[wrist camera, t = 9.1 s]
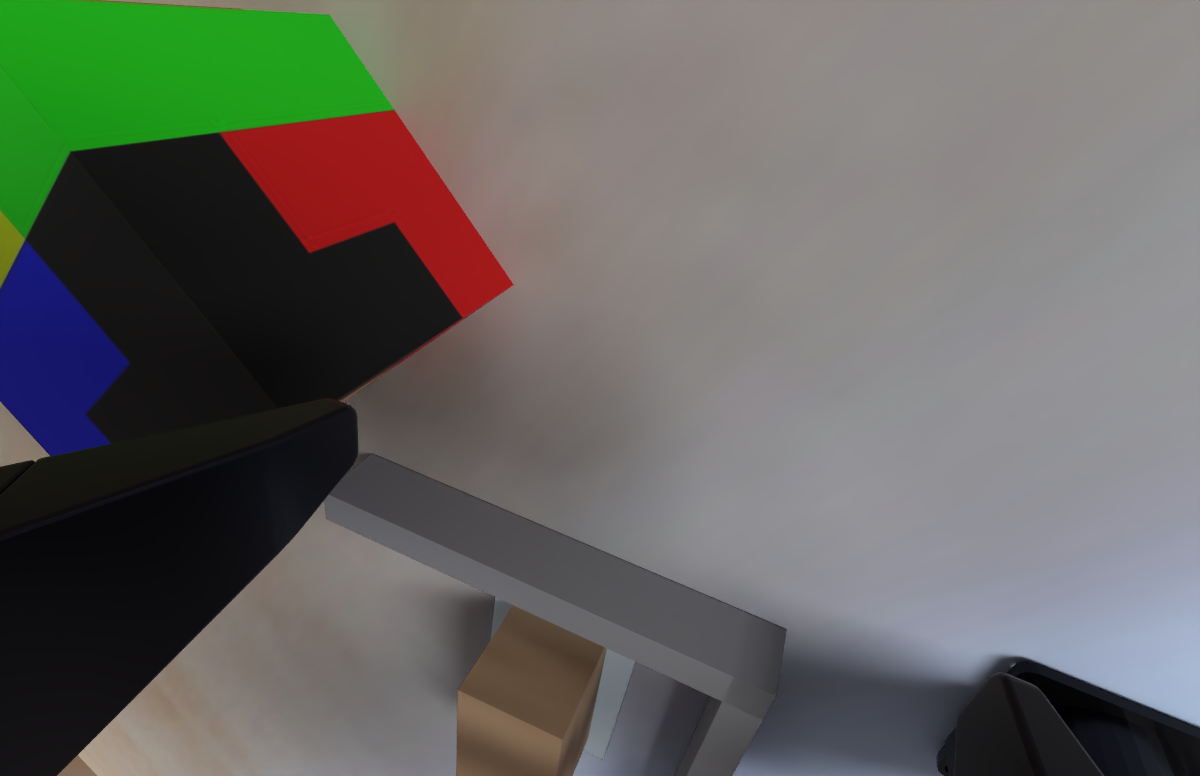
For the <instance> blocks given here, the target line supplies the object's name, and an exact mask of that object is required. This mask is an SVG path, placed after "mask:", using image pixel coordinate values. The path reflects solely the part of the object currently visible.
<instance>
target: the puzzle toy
mask: <svg viewBox="0 0 1200 776" xmlns="http://www.w3.org/2000/svg"><path fill="white" fill-rule="evenodd" d="M511 286H513V283H512V282H511V280H510V279H509V277H508V276H507V274H506V273H505V271H504V270H503V269H502V267H501V266H500V264H499V263H498V261H497V260H496V258H495V257H494V255H493V254H492V252H491V251H490V249H489V248H488V247H487V245H486V244H485V242H484V241H483V239H482V238H481V236H480V235H479V233H478V232H477V230H476V229H475V228H474V226H473V225H472V223H471V222H470V220H469V219H468V217H467V216H466V214H465V213H464V211H463V210H462V208H461V207H460V206H459V204H458V203H457V201H456V200H455V198H454V197H453V195H452V194H451V192H450V191H449V189H448V188H447V186H446V185H445V184H444V182H443V181H442V179H441V178H440V176H439V175H438V173H437V172H436V170H435V169H434V167H433V166H432V165H431V163H430V162H429V160H428V159H427V157H426V156H425V154H424V153H423V151H422V150H421V148H420V147H419V145H418V144H417V143H416V141H415V140H414V138H413V137H412V135H411V134H410V132H409V131H408V129H407V128H406V126H405V125H404V123H403V122H402V121H401V119H400V118H399V116H398V115H397V113H396V112H395V110H394V109H393V107H392V106H391V104H390V103H389V101H388V100H387V99H386V97H385V96H384V94H383V93H382V91H381V90H380V88H379V87H378V85H377V84H376V82H375V81H374V80H373V78H372V77H371V75H370V74H369V72H368V71H367V69H366V68H365V66H364V65H363V63H362V62H361V60H360V59H359V58H358V56H357V55H356V53H355V52H354V50H353V49H352V47H351V46H350V44H349V43H348V41H347V40H346V38H345V37H344V36H343V34H342V33H341V31H340V30H339V28H338V27H337V25H336V24H335V22H334V21H333V19H332V18H331V17H330V15H329V14H314V13H298V12H282V11H265V10H249V9H233V8H217V7H200V6H184V5H168V4H151V3H135V2H119V1H103V0H0V401H1V403H2V404H3V405H4V406H5V407H6V408H7V409H8V410H9V411H10V412H11V413H12V415H13V416H14V417H15V418H16V419H17V420H18V421H19V422H20V423H21V424H22V425H23V427H24V428H25V429H26V430H27V431H28V432H29V433H30V434H31V435H32V436H33V438H34V439H35V440H36V441H37V442H38V443H39V444H40V445H41V446H42V447H43V448H44V450H45V451H46V452H47V453H48V454H49V455H50V456H54V455H59V454H64V453H69V452H73V451H78V450H83V449H88V448H92V447H97V446H102V445H107V444H111V443H116V442H121V441H126V440H130V439H135V438H140V437H145V436H149V435H154V434H159V433H164V432H168V431H173V430H178V429H183V428H187V427H192V426H197V425H202V424H206V423H211V422H216V421H221V420H225V419H230V418H235V417H240V416H244V415H249V414H254V413H259V412H263V411H268V410H273V409H278V408H282V407H287V406H292V405H297V404H301V403H306V402H311V401H316V400H321V399H326V398H331V399H335V400H338V401H340V402H344V401H345V400H347V399H348V398H350V397H351V396H353V395H354V394H356V393H357V392H358V391H360V390H361V389H363V388H364V387H366V386H367V385H369V384H370V383H372V382H373V381H374V380H376V379H377V378H379V377H380V376H382V375H383V374H385V373H386V372H388V371H389V370H390V369H392V368H393V367H395V366H396V365H398V364H399V363H401V362H402V361H404V360H405V359H406V358H408V357H409V356H411V355H412V354H414V353H415V352H417V351H418V350H420V349H421V348H422V347H424V346H425V345H427V344H428V343H430V342H431V341H433V340H434V339H436V338H437V337H438V336H440V335H441V334H443V333H444V332H446V331H447V330H449V329H450V328H452V327H453V326H454V325H456V324H457V323H459V322H460V321H462V320H463V319H465V318H466V317H468V316H469V315H470V314H472V313H473V312H475V311H476V310H478V309H479V308H481V307H482V306H483V305H485V304H486V303H488V302H489V301H491V300H492V299H494V298H495V297H497V296H498V295H499V294H501V293H502V292H504V291H505V290H507V289H508V288H510V287H511Z"/></svg>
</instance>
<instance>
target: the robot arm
mask: <svg viewBox="0 0 1200 776" xmlns="http://www.w3.org/2000/svg"><path fill="white" fill-rule="evenodd" d="M357 454H358V427H357V413H356V411H355V409H354V408H353V407H352V406H350V405H348V404H345V403H343V402H340V401H338V400H335V399H331V398H326V399H321V400H316V401H311V402H306V403H301V404H297V405H292V406H287V407H282V408H278V409H273V410H268V411H263V412H259V413H254V414H249V415H244V416H240V417H235V418H230V419H225V420H221V421H216V422H211V423H206V424H202V425H197V426H192V427H187V428H183V429H178V430H173V431H168V432H164V433H159V434H154V435H149V436H145V437H140V438H135V439H130V440H126V441H121V442H116V443H111V444H107V445H102V446H97V447H92V448H88V449H83V450H78V451H73V452H69V453H64V454H59V455H54V456H49V457H45V458H40V459H38V460H37V461H36V462H35V461H32V460H30V461H25V462H20V463H16V464H11V465H6V466H2V467H0V776H57V775H58V774H59V773H60V772H61V771H62V770H63V769H64V768H65V767H66V766H67V765H68V764H69V763H70V762H71V761H72V760H73V759H74V758H75V757H76V756H77V755H78V754H79V753H80V752H81V751H82V750H83V749H84V748H85V747H86V746H87V745H88V744H89V743H90V742H91V741H92V740H93V739H94V738H95V737H96V736H97V735H98V734H99V733H100V732H101V731H102V730H103V729H104V728H105V727H106V726H107V725H108V724H109V723H110V722H111V721H112V720H113V719H114V718H115V717H116V716H117V715H118V714H119V713H120V712H121V711H122V710H123V709H124V708H125V707H126V706H127V705H128V704H129V703H130V702H131V701H132V700H133V699H134V698H135V697H136V696H137V695H138V694H139V693H140V692H141V691H142V690H143V689H144V688H145V687H146V686H147V685H148V684H149V683H150V682H151V681H152V680H153V679H154V678H155V677H156V676H157V675H158V674H159V673H160V672H161V671H162V670H163V669H164V668H165V667H166V666H167V665H168V664H169V663H170V662H171V661H172V660H173V659H174V658H175V657H176V656H177V655H178V654H179V653H180V652H181V651H182V650H183V649H184V648H185V647H186V646H187V645H188V644H189V643H190V642H191V641H192V640H193V639H194V638H195V637H196V636H197V635H198V634H199V633H200V632H201V631H202V630H203V629H204V628H205V627H206V626H207V625H208V624H209V623H210V622H211V621H212V620H213V619H214V618H215V617H216V616H217V615H218V614H219V613H220V612H221V611H222V610H223V609H224V608H225V607H226V606H227V605H228V604H229V603H230V602H231V601H232V600H233V599H234V598H235V597H236V596H237V595H238V594H239V593H240V592H241V591H242V590H243V589H244V588H245V587H246V586H247V585H248V584H249V583H250V582H251V581H252V580H253V579H254V578H255V577H256V576H257V575H258V574H259V573H260V572H261V571H262V570H263V569H264V568H265V567H266V566H267V565H268V564H269V563H270V562H271V561H272V560H273V559H274V558H275V557H276V556H277V555H278V554H279V552H280V551H281V550H282V549H283V548H284V547H285V546H286V545H287V544H288V543H289V542H290V541H291V540H292V538H293V537H294V536H295V535H296V534H297V533H298V532H299V530H300V529H301V528H302V527H303V526H304V524H305V523H306V522H307V521H308V519H309V518H310V517H311V516H312V515H313V513H314V512H315V511H316V510H317V508H318V507H319V506H320V505H321V504H322V502H323V501H324V500H325V499H326V497H327V496H328V495H329V494H330V493H331V491H332V490H333V489H334V488H335V486H336V485H337V484H338V483H339V481H340V480H341V479H342V478H343V477H344V475H345V474H346V473H347V472H348V470H349V469H350V468H351V467H352V465H353V464H354V462H355V460H356V458H357ZM1027 678H1034V679H1027ZM936 758H937V768H938V771H939V772H940V773H941V774H942V775H944V776H1200V729H1198V728H1195V727H1193V726H1190V725H1188V724H1185V723H1183V722H1180V721H1178V720H1175V719H1173V718H1170V717H1168V716H1165V715H1163V714H1160V713H1158V712H1155V711H1153V710H1150V709H1148V708H1145V707H1143V706H1140V705H1138V704H1135V703H1133V702H1130V701H1128V700H1125V699H1123V698H1120V697H1118V696H1115V695H1113V694H1110V693H1108V692H1105V691H1103V690H1100V689H1098V688H1095V687H1093V686H1090V685H1088V684H1085V683H1083V682H1080V681H1078V680H1075V679H1073V678H1070V677H1068V676H1065V675H1063V674H1060V673H1058V672H1055V671H1053V670H1050V669H1048V668H1045V667H1043V666H1040V665H1038V664H1034V663H1030V662H1022V663H1018V664H1016V665H1015V666H1013V667H1012V668H1011V669H1010V671H1009V672H1008V673H1003V672H997V673H995V674H993V675H992V676H991V677H989V678H988V680H987V681H986V682H985V683H984V684H983V686H982V687H981V688H980V689H979V690H978V692H977V693H976V694H975V695H974V696H973V697H972V699H971V700H970V701H969V702H968V703H967V705H966V706H965V707H964V708H963V710H962V712H961V714H960V716H959V719H958V724H957V727H956V728H955V729H954V730H953V732H952V733H951V734H950V735H949V736H948V737H947V739H946V740H945V746H944V747H943V748H942V749H941V751H940V752H939V753H938V754H937V757H936Z"/></svg>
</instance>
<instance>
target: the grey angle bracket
mask: <svg viewBox="0 0 1200 776" xmlns="http://www.w3.org/2000/svg"><path fill="white" fill-rule="evenodd" d="M324 502H325V514H326V519H327V520H330V521H332V522H334V523H336V524H338V525H340V526H343V527H345V528H347V529H349V530H351V531H353V532H356V533H358V534H360V535H362V536H364V537H366V538H369V539H371V540H373V541H375V542H377V543H379V544H382V545H384V546H386V547H388V548H390V549H392V550H395V551H397V552H399V553H401V554H403V555H405V556H408V557H410V558H412V559H414V560H416V561H418V562H421V563H423V564H425V565H427V566H429V567H431V568H434V569H436V570H438V571H440V572H442V573H444V574H447V575H449V576H451V577H453V578H455V579H458V580H460V581H462V582H464V583H466V584H468V585H471V586H473V587H475V588H477V589H479V590H481V591H484V592H486V593H488V594H490V595H492V596H494V597H497V598H499V599H501V600H503V601H505V602H507V603H510V604H512V605H514V606H516V607H518V608H520V609H523V610H525V611H527V612H529V613H531V614H533V615H536V616H538V617H540V618H542V619H544V620H546V621H549V622H551V623H553V624H555V625H557V626H559V627H562V628H564V629H566V630H568V631H570V632H572V633H575V634H577V635H579V636H581V637H583V638H585V639H588V640H590V641H592V642H594V643H596V644H598V645H601V646H603V647H605V648H607V649H609V650H611V651H614V652H616V653H618V654H620V655H622V656H624V657H627V658H629V659H631V660H633V661H635V662H637V663H640V664H642V665H644V666H646V667H648V668H650V669H653V670H655V671H657V672H659V673H661V674H663V675H666V676H668V677H670V678H672V679H674V680H676V681H679V682H681V683H683V684H685V685H687V686H689V687H692V688H694V689H696V690H698V691H700V692H702V693H705V694H707V695H709V696H710V698H709V701H708V703H707V705H706V707H705V709H704V712H703V714H702V716H701V718H700V720H699V723H698V725H697V727H696V729H695V731H694V733H693V736H692V738H691V740H690V742H689V744H688V747H687V749H686V751H685V753H684V755H683V757H682V760H681V762H680V764H679V766H678V768H677V771H676V773H675V775H674V776H732V775H733V773H734V771H735V770H736V768H737V766H738V764H739V762H740V760H741V759H742V757H743V755H744V753H745V751H746V750H747V748H748V746H749V744H750V742H751V741H752V739H753V737H754V735H755V733H756V732H757V730H758V728H759V726H760V724H761V723H762V721H763V719H764V717H765V715H766V714H767V712H768V710H769V708H770V706H771V705H772V703H773V701H774V699H775V697H776V694H777V688H778V681H779V675H780V668H781V662H782V655H783V649H784V643H785V636H786V629H784V628H782V627H779V626H777V625H774V624H772V623H770V622H767V621H765V620H763V619H760V618H758V617H756V616H753V615H751V614H749V613H746V612H744V611H741V610H739V609H737V608H734V607H732V606H730V605H727V604H725V603H723V602H720V601H718V600H715V599H713V598H711V597H708V596H706V595H704V594H701V593H699V592H697V591H694V590H692V589H690V588H687V587H685V586H682V585H680V584H678V583H675V582H673V581H671V580H668V579H666V578H664V577H661V576H659V575H657V574H654V573H652V572H649V571H647V570H645V569H642V568H640V567H638V566H635V565H633V564H631V563H628V562H626V561H624V560H621V559H619V558H616V557H614V556H612V555H609V554H607V553H605V552H602V551H600V550H598V549H595V548H593V547H590V546H588V545H586V544H583V543H581V542H579V541H576V540H574V539H572V538H569V537H567V536H565V535H562V534H560V533H557V532H555V531H553V530H550V529H548V528H546V527H543V526H541V525H539V524H536V523H534V522H532V521H529V520H527V519H524V518H522V517H520V516H517V515H515V514H513V513H510V512H508V511H506V510H503V509H501V508H499V507H496V506H494V505H491V504H489V503H487V502H484V501H482V500H480V499H477V498H475V497H473V496H470V495H468V494H465V493H463V492H461V491H458V490H456V489H454V488H451V487H449V486H447V485H444V484H442V483H440V482H437V481H435V480H432V479H430V478H428V477H425V476H423V475H421V474H418V473H416V472H414V471H411V470H409V469H407V468H404V467H402V466H399V465H397V464H395V463H392V462H390V461H388V460H385V459H383V458H381V457H378V456H376V455H374V454H371V455H370V456H368V457H367V458H366V459H365V460H363V461H362V462H361V463H360V464H358V465H357V466H356V467H355V468H353V469H352V470H351V471H350V472H349V473H347V474H346V475H345V476H344V477H343V478H342V479H341V480H340V481H339V483H338V484H337V485H336V486H335V488H334V489H333V490H332V491H331V493H330V494H329V495H328V496H327V497H326V499H325V500H324Z"/></svg>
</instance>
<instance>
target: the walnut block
mask: <svg viewBox="0 0 1200 776" xmlns="http://www.w3.org/2000/svg"><path fill="white" fill-rule="evenodd" d="M606 650H607V648H605V647H603V646H601V645H598V644H596V643H594V642H592V641H590V640H588V639H585V638H583V637H581V636H579V635H577V634H575V633H572V632H570V631H568V630H566V629H564V628H562V627H559V626H557V625H555V624H553V623H551V622H549V621H546V620H544V619H542V618H540V617H538V616H536V615H533V614H531V613H529V612H527V611H525V610H523V609H520V608H518V607H516V606H514V605H513V606H512V608H511V609H510V611H509V612H508V614H507V615H506V617H505V619H504V620H503V622H502V623H501V625H500V626H499V628H498V629H497V631H496V632H495V634H494V635H493V637H492V638H491V640H490V641H489V643H488V645H487V646H486V648H485V649H484V651H483V652H482V654H481V655H480V657H479V658H478V660H477V661H476V663H475V664H474V666H473V668H472V669H471V671H470V672H469V674H468V675H467V677H466V678H465V680H464V681H463V683H462V684H461V686H460V687H459V689H458V708H457V765H456V776H573V773H574V771H575V768H576V766H577V764H578V761H579V759H580V756H581V754H582V752H583V749H584V747H585V744H586V742H587V740H588V736H589V731H590V726H591V722H592V717H593V712H594V707H595V703H596V698H597V693H598V688H599V684H600V679H601V674H602V669H603V665H604V660H605V655H606Z"/></svg>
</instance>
